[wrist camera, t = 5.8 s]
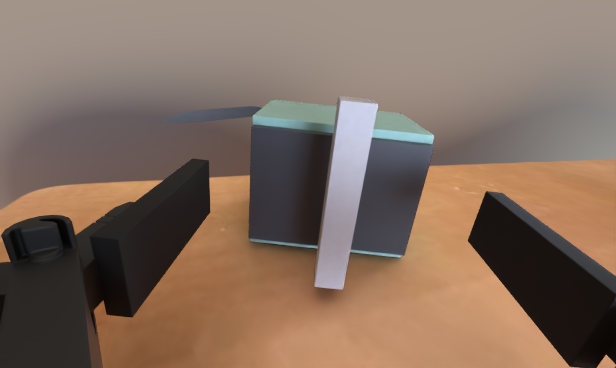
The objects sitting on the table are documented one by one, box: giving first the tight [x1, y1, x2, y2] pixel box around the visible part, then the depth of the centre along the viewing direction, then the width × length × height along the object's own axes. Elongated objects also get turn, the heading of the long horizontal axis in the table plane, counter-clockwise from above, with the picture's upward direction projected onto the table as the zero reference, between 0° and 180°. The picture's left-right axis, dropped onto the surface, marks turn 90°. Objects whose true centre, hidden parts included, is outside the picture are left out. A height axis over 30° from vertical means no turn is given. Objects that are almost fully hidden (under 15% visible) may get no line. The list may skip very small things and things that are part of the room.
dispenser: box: [249, 100, 434, 258], centre depth 23 cm, size 8×11×9 cm
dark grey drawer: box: [249, 96, 434, 290], centre depth 20 cm, size 12×11×10 cm
